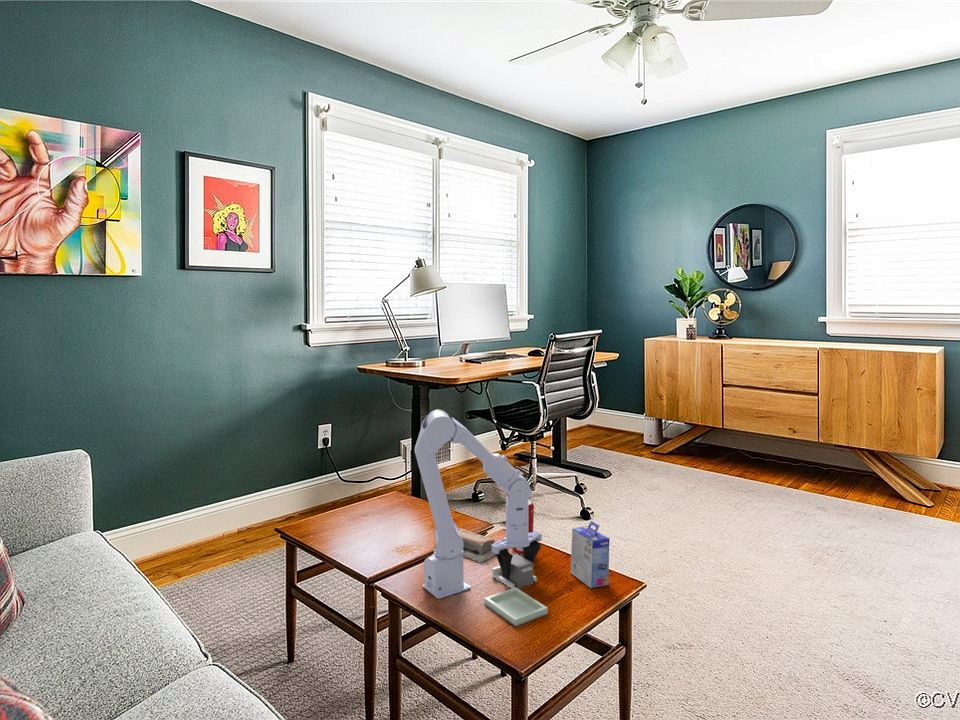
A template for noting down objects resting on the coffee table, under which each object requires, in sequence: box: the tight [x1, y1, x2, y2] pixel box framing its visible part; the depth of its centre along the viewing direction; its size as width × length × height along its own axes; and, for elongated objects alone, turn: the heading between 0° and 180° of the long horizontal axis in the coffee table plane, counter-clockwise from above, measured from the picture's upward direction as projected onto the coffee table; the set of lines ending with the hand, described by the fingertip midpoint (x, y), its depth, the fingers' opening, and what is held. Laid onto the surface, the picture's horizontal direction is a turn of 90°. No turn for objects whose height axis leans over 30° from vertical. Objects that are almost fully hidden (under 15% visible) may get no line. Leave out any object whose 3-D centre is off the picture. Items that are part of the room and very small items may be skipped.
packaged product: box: [434, 527, 496, 563], centre depth 174 cm, size 18×5×10 cm
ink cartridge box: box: [570, 520, 610, 589], centre depth 154 cm, size 10×6×14 cm, turn 24°
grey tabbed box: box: [502, 553, 534, 589], centre depth 153 cm, size 5×8×6 cm, turn 34°
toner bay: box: [491, 565, 538, 589], centre depth 155 cm, size 9×8×2 cm
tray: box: [484, 587, 549, 627], centre depth 140 cm, size 9×12×2 cm
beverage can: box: [511, 498, 535, 556], centre depth 171 cm, size 6×6×15 cm
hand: (517, 573), depth 154 cm, fingers open, 6 cm apart
